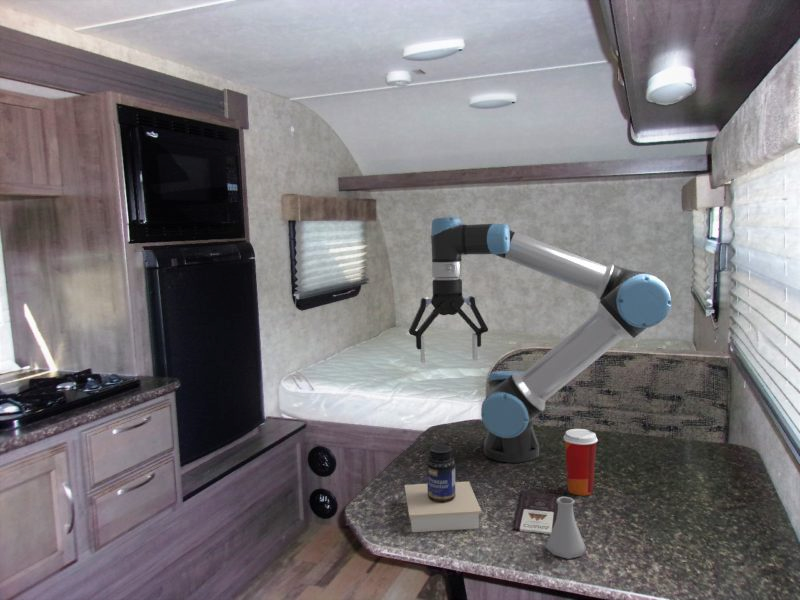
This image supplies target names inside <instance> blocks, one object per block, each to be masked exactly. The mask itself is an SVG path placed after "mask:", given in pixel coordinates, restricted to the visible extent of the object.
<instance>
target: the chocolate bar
mask: <svg viewBox="0 0 800 600" xmlns="http://www.w3.org/2000/svg"><path fill="white" fill-rule="evenodd" d="M559 497H563V495H562V494H553V493H542V492H541V493H540V492H530V491H521V494H520V499H519V503H518V507H517V511H516V515H515V519H514V524H513V529H512V530H517V531H516V532H522V531H524V532H523V533H530V532H535V533H534V534H539V533H544V534H543V535H547V534H549V535H548V536H550V535H551V532H552V530H553V527H554V524H555V521H556V518H557V513H558V503H557V502H556V500H557V499H558V498H559Z"/></svg>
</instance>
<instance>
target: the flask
mask: <svg viewBox="0 0 800 600" xmlns="http://www.w3.org/2000/svg"><path fill="white" fill-rule="evenodd" d="M556 502H557V503H558V513H557V518H556V521H555V524H554V527H553V530H552V532H551V535H549V538H548V540H547V542H546V545H545V549H546V550H547V551H549V552H550V553H551V554H552V555H554V556H557V557H560V558H564V559H567V560H571V559H574V558H578V557H582V556H583V555H584V553H585V552H586V550H587V547H586V545H585V543H584V540H583V537H582V535H581V532H580V530H579V527H578V524H577V522H576V518H575V513H574V504H575V502H576V501H575V500H574V499H573V498H572V497H568V496H562V497H559V498H558V499H557V500H556Z"/></svg>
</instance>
